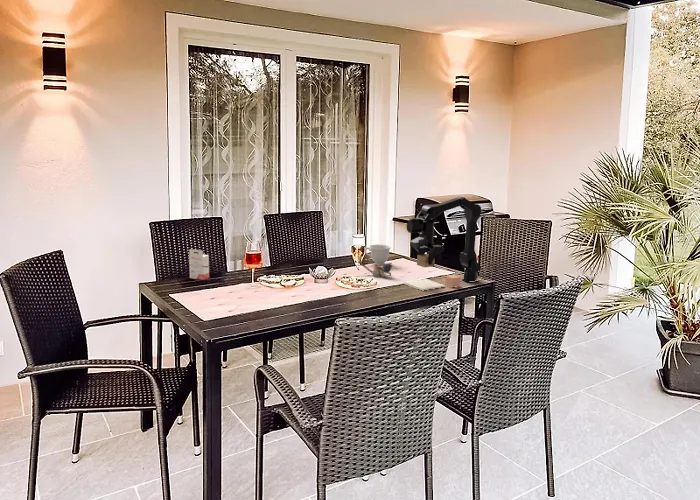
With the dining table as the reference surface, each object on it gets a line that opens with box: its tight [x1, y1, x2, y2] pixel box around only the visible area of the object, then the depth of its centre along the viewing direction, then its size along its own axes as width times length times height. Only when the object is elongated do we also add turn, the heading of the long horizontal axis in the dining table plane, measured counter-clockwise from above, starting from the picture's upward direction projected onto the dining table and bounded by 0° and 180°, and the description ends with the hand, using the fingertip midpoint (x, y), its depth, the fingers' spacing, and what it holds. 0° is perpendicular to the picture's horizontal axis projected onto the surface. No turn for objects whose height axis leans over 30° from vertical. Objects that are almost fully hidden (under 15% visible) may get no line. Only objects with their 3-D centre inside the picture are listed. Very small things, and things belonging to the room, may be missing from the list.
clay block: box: [444, 274, 462, 287], centre depth 287 cm, size 5×5×5 cm
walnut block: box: [416, 253, 436, 268], centre depth 284 cm, size 6×6×5 cm
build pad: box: [404, 278, 446, 292], centre depth 287 cm, size 14×14×1 cm
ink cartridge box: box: [188, 248, 210, 281], centre depth 287 cm, size 9×5×15 cm, turn 68°
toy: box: [358, 261, 393, 279], centre depth 303 cm, size 9×18×10 cm, turn 74°
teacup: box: [364, 244, 392, 266], centre depth 328 cm, size 12×15×10 cm
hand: (425, 263), depth 285 cm, fingers closed on walnut block, 6 cm apart
